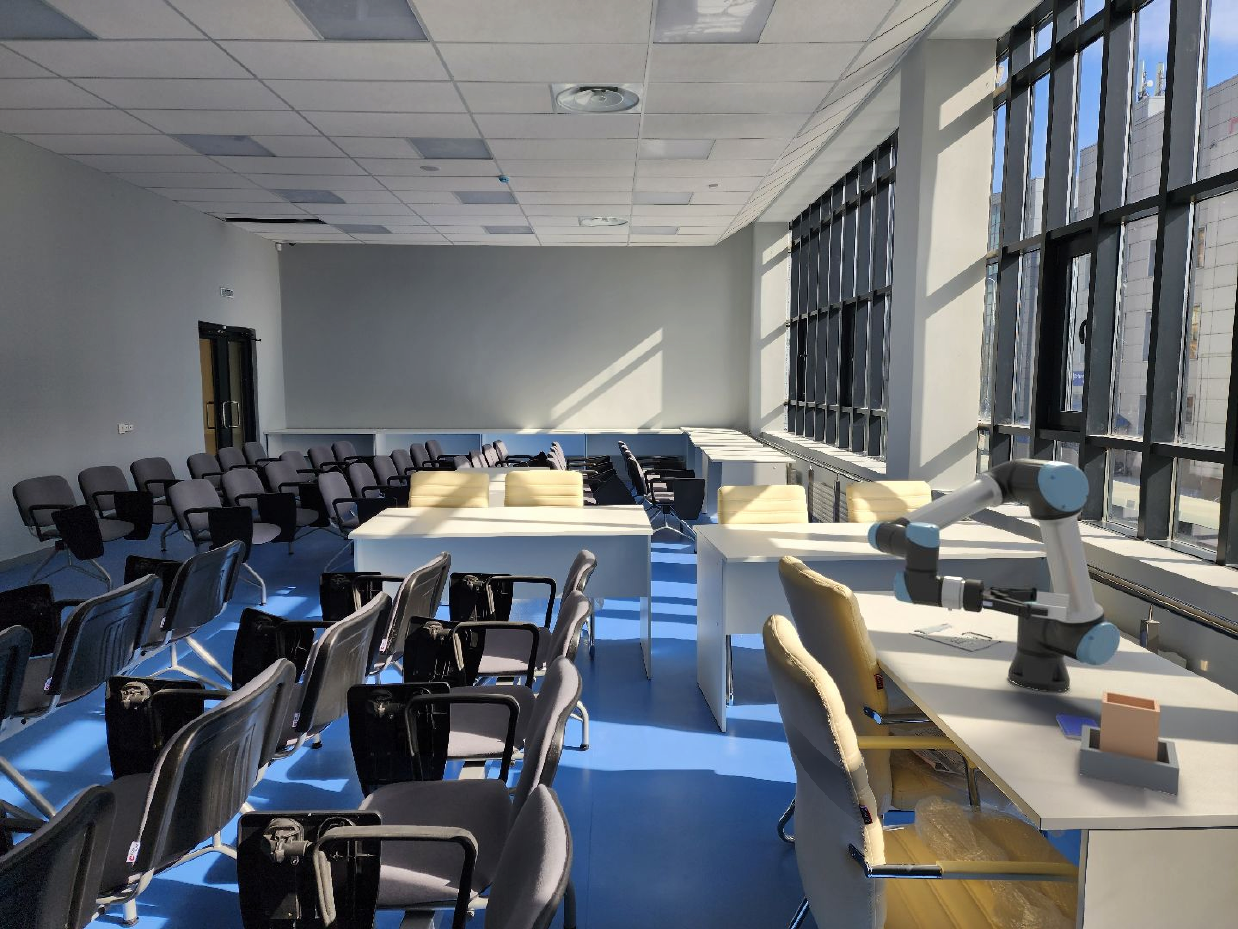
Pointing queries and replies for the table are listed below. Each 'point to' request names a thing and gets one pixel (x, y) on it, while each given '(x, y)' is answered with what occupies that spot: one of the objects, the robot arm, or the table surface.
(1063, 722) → the hard drive
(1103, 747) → the tall tapered brown container
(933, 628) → the office telephone
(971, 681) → the table surface
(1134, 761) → the tray
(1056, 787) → the table surface
